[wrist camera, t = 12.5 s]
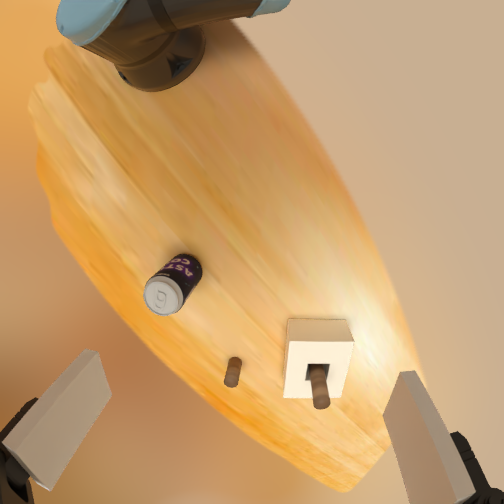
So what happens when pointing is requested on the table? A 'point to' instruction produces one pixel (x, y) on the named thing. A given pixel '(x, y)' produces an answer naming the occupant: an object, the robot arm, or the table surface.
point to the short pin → (233, 372)
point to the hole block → (316, 355)
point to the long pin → (319, 386)
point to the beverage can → (172, 285)
